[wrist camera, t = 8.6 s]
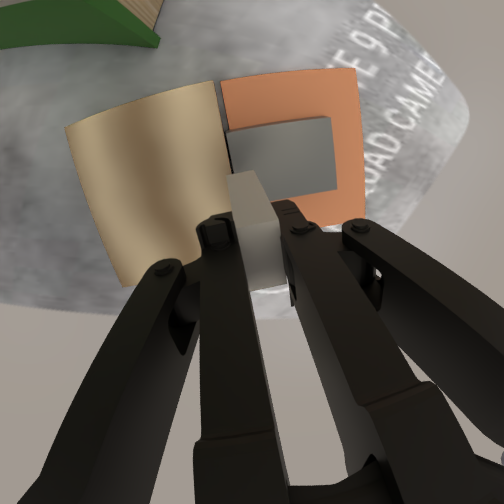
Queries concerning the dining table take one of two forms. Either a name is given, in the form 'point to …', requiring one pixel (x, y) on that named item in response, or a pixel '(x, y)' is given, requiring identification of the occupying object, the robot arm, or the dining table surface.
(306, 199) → the mat
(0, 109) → the dining table surface
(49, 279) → the dining table surface
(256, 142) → the gray flat block
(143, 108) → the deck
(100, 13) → the hardback book
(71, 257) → the dining table surface
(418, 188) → the dining table surface
